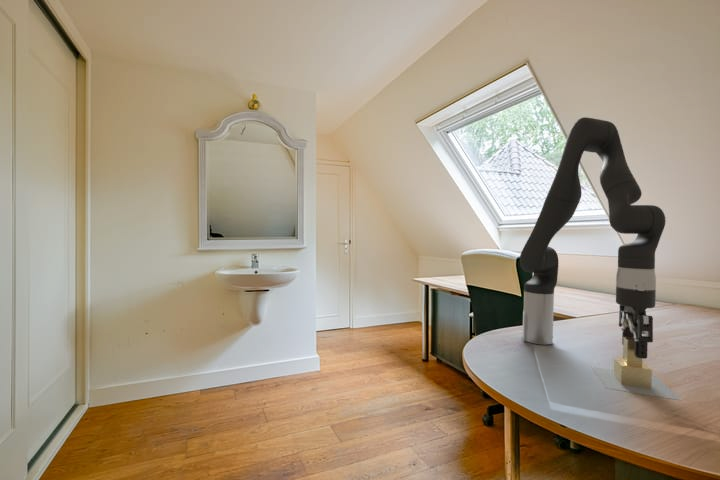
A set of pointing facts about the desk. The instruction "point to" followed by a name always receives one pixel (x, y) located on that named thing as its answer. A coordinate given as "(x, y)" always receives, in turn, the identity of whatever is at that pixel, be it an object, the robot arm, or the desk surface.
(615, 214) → the robot arm
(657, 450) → the desk surface
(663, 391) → the thin grey square mat
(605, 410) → the desk surface
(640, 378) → the cream stepped block
